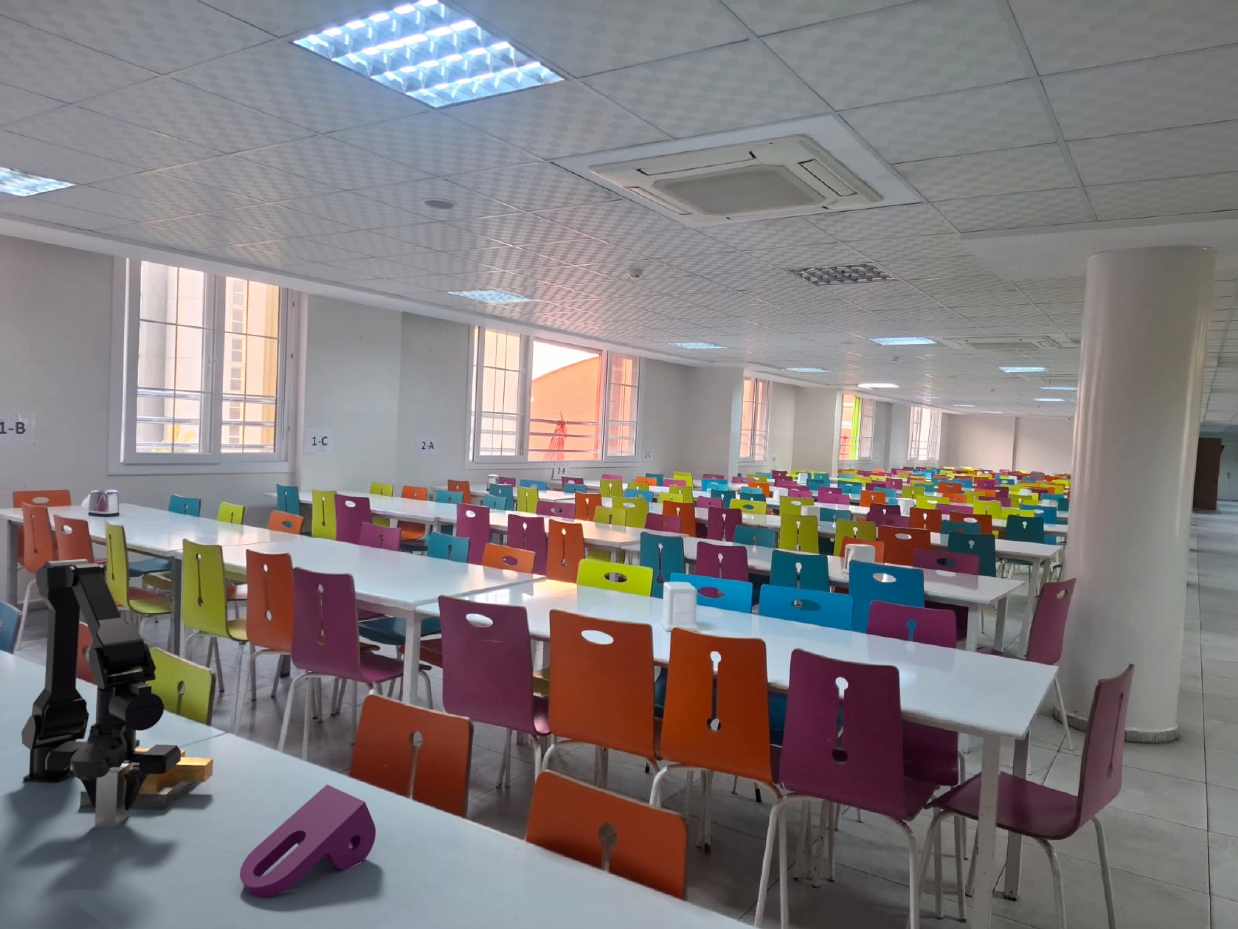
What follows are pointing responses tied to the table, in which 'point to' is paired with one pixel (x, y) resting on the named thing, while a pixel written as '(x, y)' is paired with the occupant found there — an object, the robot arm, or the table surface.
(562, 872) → the table surface
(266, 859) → the mounting bracket
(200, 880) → the table surface
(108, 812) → the grey rectangular block
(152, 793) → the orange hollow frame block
